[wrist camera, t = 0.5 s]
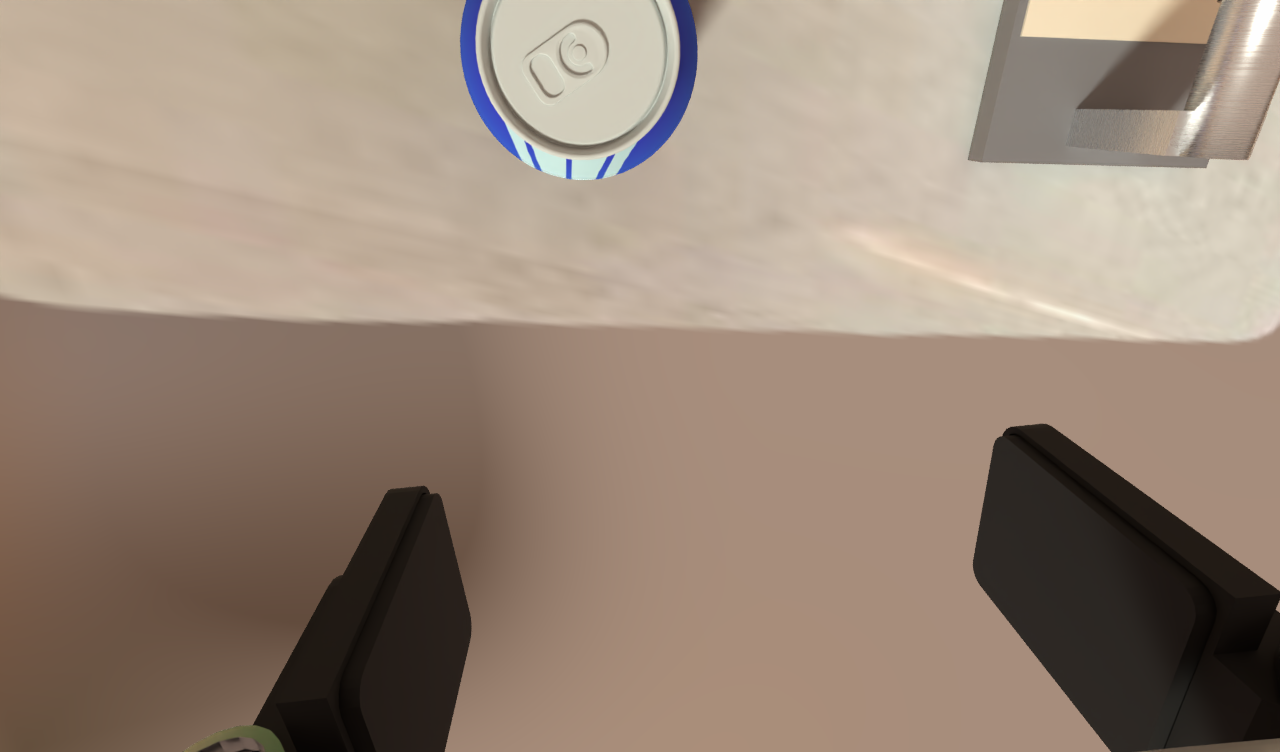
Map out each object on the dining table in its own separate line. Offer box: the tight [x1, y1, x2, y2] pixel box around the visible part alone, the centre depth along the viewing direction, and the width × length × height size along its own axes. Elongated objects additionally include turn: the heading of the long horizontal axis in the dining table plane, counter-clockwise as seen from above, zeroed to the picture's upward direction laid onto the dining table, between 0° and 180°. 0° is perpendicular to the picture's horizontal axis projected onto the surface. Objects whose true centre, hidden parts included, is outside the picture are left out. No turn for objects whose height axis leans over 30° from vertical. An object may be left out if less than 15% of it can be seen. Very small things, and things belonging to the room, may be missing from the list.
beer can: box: [460, 0, 697, 180], centre depth 28 cm, size 8×8×16 cm
